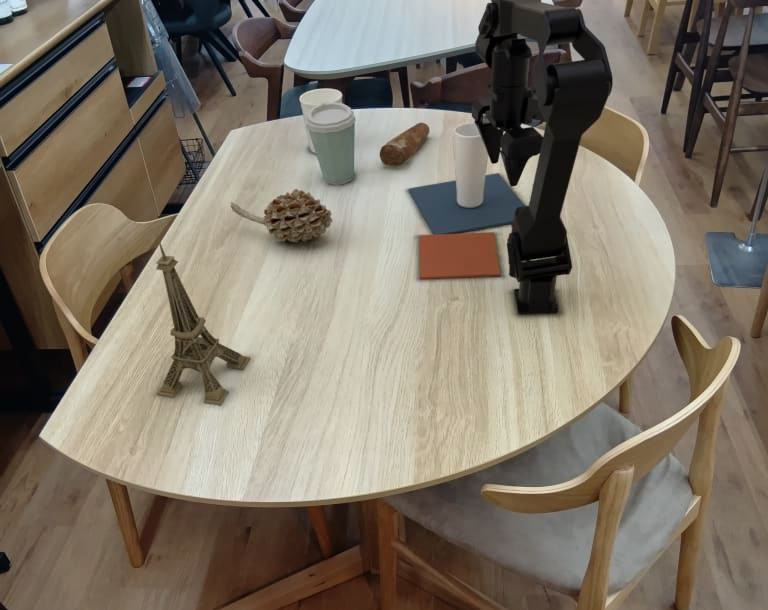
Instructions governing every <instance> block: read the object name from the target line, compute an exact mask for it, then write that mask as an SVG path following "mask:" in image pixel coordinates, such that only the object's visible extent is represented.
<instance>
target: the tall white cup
mask: <svg viewBox="0 0 768 610" xmlns="http://www.w3.org/2000/svg"><path fill="white" fill-rule="evenodd" d="M452 143H453V147H452V149H453V163H454V176H455V181H456V190H457V203H458V204H459V205H460V206H462V207H465V208H474V207H478V206H479V205H481V204H482V202H483V197H484V186H485V178H486V175H487V170H488V169H487V168H488V163H489V162H488V161H489V155H488V153H487V150H486V148H485V145H484V143H483V141H482V138H481V136H480V133H479V131H478V129H477V126H476V124H475V122H464V123H461V124H459V125H457V126H455V128H454V129H453V141H452Z"/></svg>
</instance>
